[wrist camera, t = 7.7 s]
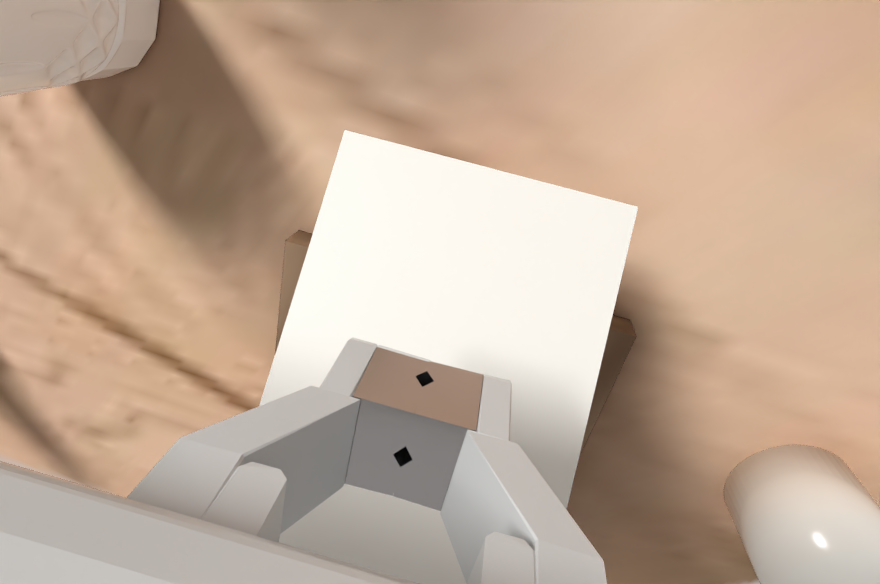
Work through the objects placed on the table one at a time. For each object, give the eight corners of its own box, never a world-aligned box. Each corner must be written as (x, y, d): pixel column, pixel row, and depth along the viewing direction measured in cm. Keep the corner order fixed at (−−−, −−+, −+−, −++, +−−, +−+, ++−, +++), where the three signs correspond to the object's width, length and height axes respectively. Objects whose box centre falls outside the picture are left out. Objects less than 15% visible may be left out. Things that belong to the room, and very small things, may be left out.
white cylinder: (881, 466, 25) (977, 580, 20) (809, 544, 28) (877, 663, 22) (761, 429, 25) (824, 533, 20) (702, 511, 28) (743, 621, 22)
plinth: (630, 320, 24) (636, 336, 22) (517, 564, 32) (517, 587, 30) (298, 230, 24) (285, 241, 23) (271, 492, 32) (260, 512, 31)
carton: (640, 207, 14) (472, 919, 12) (566, 261, 23) (460, 685, 21) (342, 128, 14) (131, 810, 12) (379, 211, 23) (257, 624, 21)
